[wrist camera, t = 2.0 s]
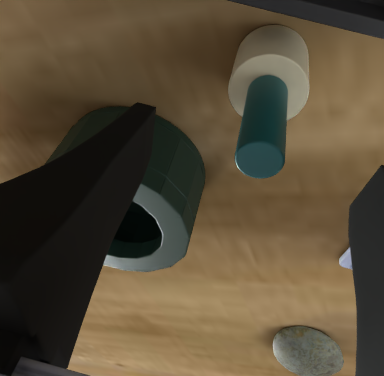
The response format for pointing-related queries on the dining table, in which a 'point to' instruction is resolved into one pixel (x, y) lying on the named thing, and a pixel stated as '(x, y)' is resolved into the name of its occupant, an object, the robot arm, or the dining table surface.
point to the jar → (151, 195)
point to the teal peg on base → (267, 96)
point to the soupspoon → (307, 352)
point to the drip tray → (331, 13)
